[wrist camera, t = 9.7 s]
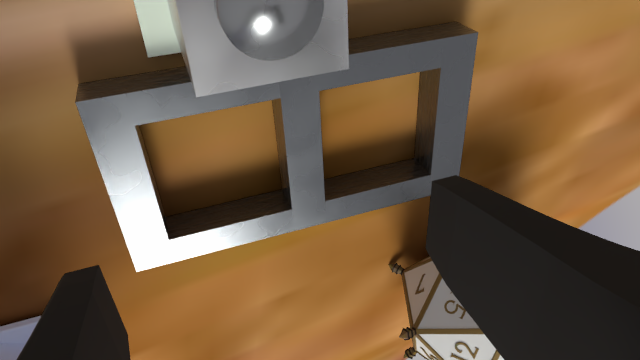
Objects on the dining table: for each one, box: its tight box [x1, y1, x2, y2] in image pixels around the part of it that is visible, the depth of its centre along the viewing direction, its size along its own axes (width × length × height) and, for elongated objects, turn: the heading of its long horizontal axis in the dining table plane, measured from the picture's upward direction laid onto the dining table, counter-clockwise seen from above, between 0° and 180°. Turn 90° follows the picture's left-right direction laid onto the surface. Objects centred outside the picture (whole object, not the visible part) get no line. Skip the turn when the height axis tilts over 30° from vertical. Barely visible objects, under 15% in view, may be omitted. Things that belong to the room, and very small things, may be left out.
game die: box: [388, 256, 504, 360], centre depth 26 cm, size 9×8×10 cm
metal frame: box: [76, 22, 478, 272], centre depth 20 cm, size 15×8×2 cm, turn 93°
